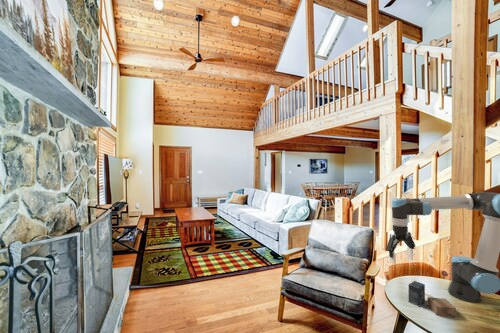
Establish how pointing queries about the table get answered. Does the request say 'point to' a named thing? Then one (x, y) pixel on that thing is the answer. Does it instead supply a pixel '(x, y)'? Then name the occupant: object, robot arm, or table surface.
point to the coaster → (427, 297)
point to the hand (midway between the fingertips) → (401, 261)
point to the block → (441, 307)
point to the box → (416, 293)
